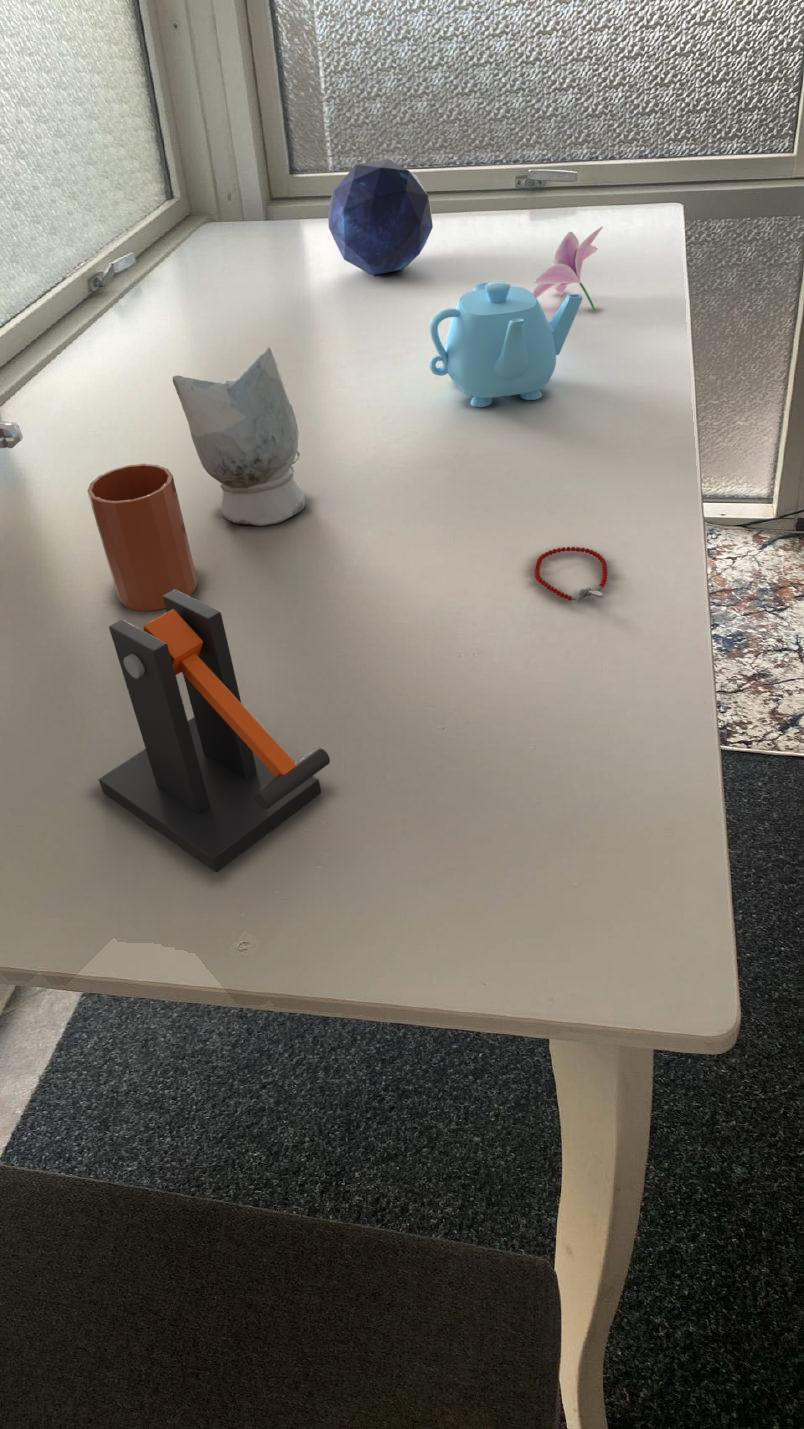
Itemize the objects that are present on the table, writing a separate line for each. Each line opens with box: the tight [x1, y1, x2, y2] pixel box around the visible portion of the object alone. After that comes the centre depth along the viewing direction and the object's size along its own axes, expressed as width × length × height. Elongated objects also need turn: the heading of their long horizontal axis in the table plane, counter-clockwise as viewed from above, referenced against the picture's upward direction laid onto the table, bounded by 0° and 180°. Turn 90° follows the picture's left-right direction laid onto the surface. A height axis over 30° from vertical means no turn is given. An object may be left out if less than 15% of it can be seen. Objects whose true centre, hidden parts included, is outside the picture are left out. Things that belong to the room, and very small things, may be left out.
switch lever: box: [142, 609, 331, 810], centre depth 66 cm, size 13×5×2 cm
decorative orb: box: [327, 158, 434, 276], centre depth 156 cm, size 14×15×15 cm
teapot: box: [429, 281, 583, 408], centre depth 119 cm, size 15×14×11 cm
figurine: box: [172, 346, 306, 527], centre depth 101 cm, size 10×9×15 cm
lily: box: [532, 226, 604, 311], centre depth 139 cm, size 12×12×10 cm
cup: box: [87, 463, 198, 612], centre depth 92 cm, size 7×7×10 cm
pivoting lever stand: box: [98, 589, 322, 873], centre depth 70 cm, size 12×9×14 cm
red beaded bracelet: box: [534, 546, 608, 602], centre depth 90 cm, size 9×6×1 cm
